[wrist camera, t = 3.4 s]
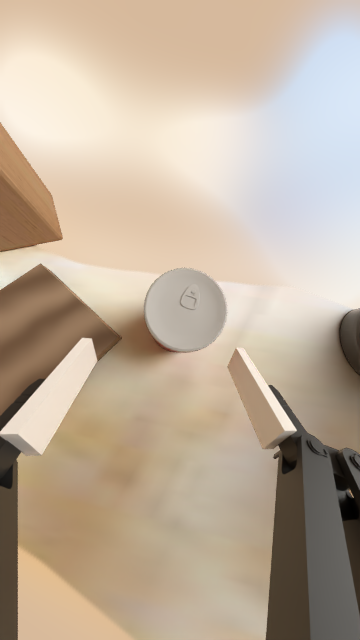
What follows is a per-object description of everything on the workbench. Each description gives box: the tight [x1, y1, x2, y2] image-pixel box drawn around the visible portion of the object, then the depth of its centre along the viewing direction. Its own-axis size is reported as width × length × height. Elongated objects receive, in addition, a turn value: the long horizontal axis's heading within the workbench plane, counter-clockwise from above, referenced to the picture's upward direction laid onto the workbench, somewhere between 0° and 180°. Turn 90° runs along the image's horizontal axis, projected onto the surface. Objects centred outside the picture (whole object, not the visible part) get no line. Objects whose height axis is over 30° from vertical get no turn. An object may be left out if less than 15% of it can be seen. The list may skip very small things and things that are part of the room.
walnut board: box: [0, 264, 121, 416], centre depth 19 cm, size 16×16×2 cm
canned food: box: [144, 268, 227, 352], centre depth 17 cm, size 8×8×11 cm
